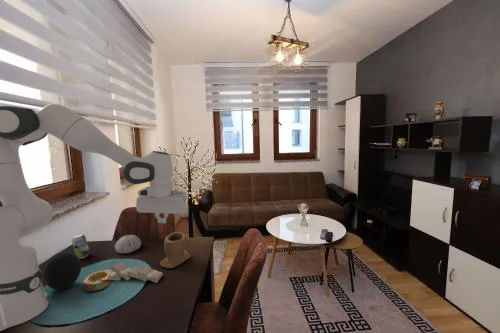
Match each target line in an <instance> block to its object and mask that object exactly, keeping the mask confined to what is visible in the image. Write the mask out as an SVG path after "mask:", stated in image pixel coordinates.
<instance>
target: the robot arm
mask: <svg viewBox="0 0 500 333" xmlns="http://www.w3.org/2000/svg"><path fill="white" fill-rule="evenodd" d="M48 134H49V135H51V136H52V137H55V138H57V139H58V140H60V141H61V142H63V143H65V144H66V145H68V146H70V147H71V148H74V149H75V150H78V151H81V152H85V153H93V154H98V155H102V156H104V157H107V158H109V159H110V160H111V161H112V162H115V163H117V164H118V165H121V167H123V170H122V174H123V177H124V179H125V181H127V182H128V183H130V184H132V185H141V184H144V183H149V186H146V187H144V188H141V189H140V190H138V191H137V198H136V200H135V201H136V202H135V209H136V211H137V213H143V214H144V213H146V214H147V213H151V214H154V217H155V218H156V220H157V224H166V223H167V219H168V216H169V214H174V215H176V214H177V215H183V214H185V213H186V211H187V208H188V206H187V196H188V195H187V194H186V192H184V191H182V190H180V191H178V190H174V188H173V187H174V186H173V185H174V183H173V178H172V177H173V173H174V172H173V168H174V167H173V161H172V156H171V155H170V154H169V153H168V152H164V151H160V150H158V151H157V150H153V151H150V152H149V153H148V154H145V155H144V156H138V155H134V154H132V152H130V151H128V150H126V149H125V148H123V147H122V146H120V145H118V144H117V143H116V142H114V141H112V140H111V139H110V138H109V137H108V136H107V135H106V134H104V132H102V131H101V130H100V129H99V128H98V127H97V126H95V125H94V124H93V123H92V122H91V121H89V120H88V119H86V118H85V117H84V116H82V115H80V114H78V113H77V112H75V111H74V110H72V109H70V108H67V107H65V106H63V105H61V104H59V103H50V104H47V105H45V106H44V107H42V108H41V109H40V110H38V111H35V110H33V109H32V108H27V107H21V106H16V105H1V106H0V203H1V205H2V206H0V332H2V331H5V330H6V329H9V328H11V327H14V326H17V325H20V324H21V325H22V324H23V323H25V322H28V321H29V320H33V319H34V318H35V317H37V316H39V315H40V314H42V313H43V312H44V311H45V310H46V309H47V308H48V306H49V300H48V294H47V293H46V292H45V287H44V284H43V281H42V271H41V268H40V267H39V261H38V252H37V249H36V248H35V247H34V246H32V245H29V244H25V243H20V241H19V240H20V239H19V236H20V235H22V234H23V235H24V234H26V233H28V232H29V233H30V232H31V231H34V230H37V229H39V228H41V227H43V226H44V225H46V224H47V223H49V222H50V221H51V220H52V219H53V216H54V209H53V207H52V205H51V204H50V203H49V202H48V201H47V200H44V199H42V198H40V197H39V196H37V195H36V194H35V193H34V192H33V191H32V190H31V189H30V186H29V185H28V183H27V181H26V178H25V174H24V172H23V167H22V163H21V158H20V154H19V149H20V147H21V146H27V145H30V144H32V143H36V142H39V141H41V140H43V139H44V138H46V137H47V136H48ZM161 214H163V216H164V217H161Z"/></svg>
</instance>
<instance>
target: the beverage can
mask: <svg viewBox="0 0 500 333" xmlns="http://www.w3.org/2000/svg"><path fill="white" fill-rule="evenodd" d="M71 244H72V246H73V250H74V251H73V252H74V254H75V255H77V257H78V258H79V260H80V259H85V258H87V257H88V256H89V255H90V254H91V251H90V248H89V245H88V241H87V237H86V235H85V234H84V233H80V234H77V235H74V236H72V239H71Z"/></svg>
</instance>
